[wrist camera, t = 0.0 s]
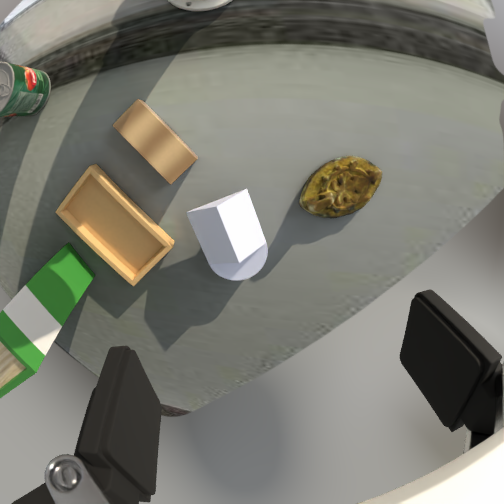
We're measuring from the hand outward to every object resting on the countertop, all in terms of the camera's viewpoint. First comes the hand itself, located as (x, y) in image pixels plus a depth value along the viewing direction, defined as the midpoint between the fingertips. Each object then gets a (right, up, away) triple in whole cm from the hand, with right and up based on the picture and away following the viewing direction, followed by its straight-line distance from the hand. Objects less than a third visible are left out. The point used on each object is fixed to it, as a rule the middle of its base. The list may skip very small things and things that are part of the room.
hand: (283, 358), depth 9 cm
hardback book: (-37, -2, +37) cm, 52 cm away
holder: (-22, +8, +34) cm, 42 cm away
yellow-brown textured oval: (+13, +14, +37) cm, 42 cm away
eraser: (-14, +19, +31) cm, 39 cm away
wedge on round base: (-4, +6, +38) cm, 39 cm away
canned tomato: (-36, +29, +24) cm, 52 cm away
